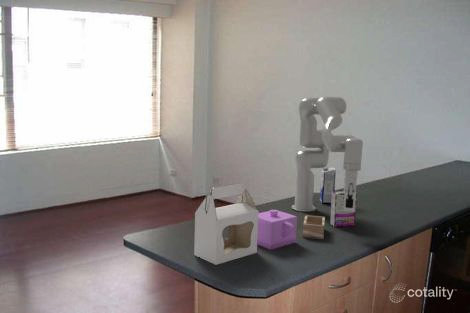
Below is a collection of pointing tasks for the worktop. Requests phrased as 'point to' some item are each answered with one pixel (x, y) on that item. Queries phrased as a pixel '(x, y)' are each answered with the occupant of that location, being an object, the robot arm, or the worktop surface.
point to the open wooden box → (313, 227)
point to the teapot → (276, 229)
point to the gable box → (216, 219)
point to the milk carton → (327, 184)
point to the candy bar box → (341, 211)
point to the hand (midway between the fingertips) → (349, 205)
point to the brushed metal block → (345, 202)
